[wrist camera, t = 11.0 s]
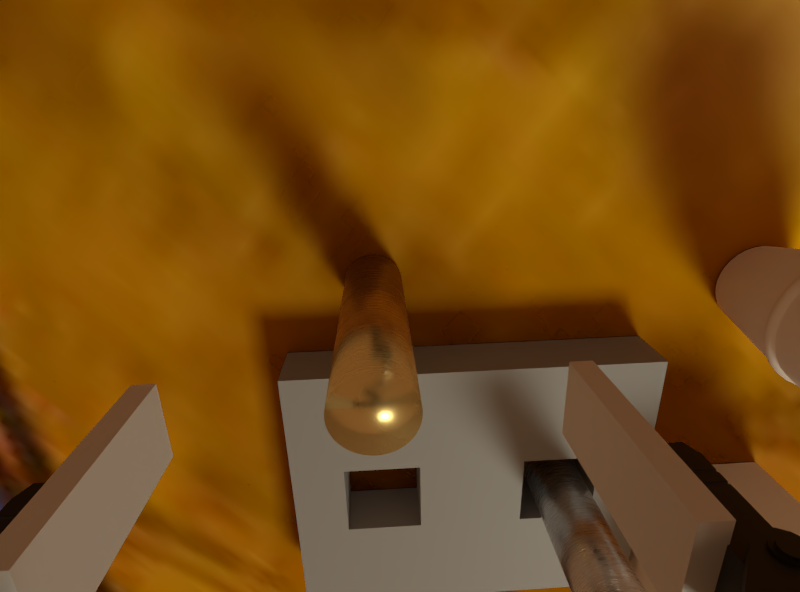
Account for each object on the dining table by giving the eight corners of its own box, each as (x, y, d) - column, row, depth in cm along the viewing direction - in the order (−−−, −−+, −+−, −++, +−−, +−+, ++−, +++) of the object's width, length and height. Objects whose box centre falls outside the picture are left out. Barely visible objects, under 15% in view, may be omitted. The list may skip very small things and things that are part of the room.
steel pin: (519, 435, 30) (605, 630, 19) (567, 432, 30) (680, 625, 19) (516, 474, 31) (595, 679, 20) (562, 471, 31) (667, 674, 20)
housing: (626, 469, 32) (747, 645, 21) (755, 461, 32) (936, 631, 22) (608, 566, 35) (707, 759, 24) (726, 558, 35) (872, 745, 25)
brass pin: (343, 255, 25) (319, 375, 14) (400, 253, 25) (422, 370, 14) (347, 308, 26) (327, 458, 15) (402, 306, 27) (423, 452, 15)
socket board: (287, 352, 27) (277, 381, 24) (638, 335, 28) (668, 361, 25) (313, 561, 33) (308, 604, 30) (603, 543, 34) (624, 582, 31)
